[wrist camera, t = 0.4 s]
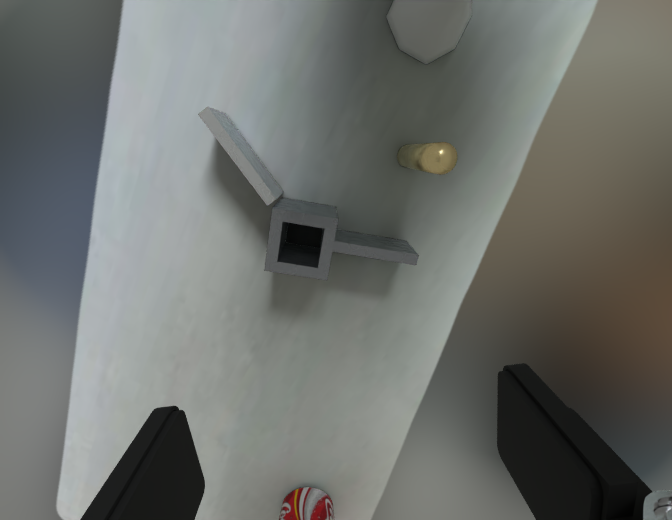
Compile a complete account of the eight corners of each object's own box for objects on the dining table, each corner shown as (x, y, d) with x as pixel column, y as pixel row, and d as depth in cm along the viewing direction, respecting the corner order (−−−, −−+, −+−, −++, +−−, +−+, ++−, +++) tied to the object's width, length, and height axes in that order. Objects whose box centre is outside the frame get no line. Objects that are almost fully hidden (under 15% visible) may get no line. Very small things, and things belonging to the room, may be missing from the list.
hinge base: (282, 197, 37) (272, 207, 30) (411, 219, 38) (429, 234, 31) (275, 249, 39) (264, 270, 32) (399, 269, 40) (414, 294, 33)
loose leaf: (225, 113, 34) (207, 106, 29) (283, 192, 37) (276, 199, 31) (217, 119, 34) (197, 114, 29) (275, 197, 37) (267, 205, 31)
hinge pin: (399, 142, 36) (430, 139, 25) (421, 146, 36) (461, 145, 25) (395, 165, 36) (423, 171, 26) (416, 169, 37) (452, 177, 26)
